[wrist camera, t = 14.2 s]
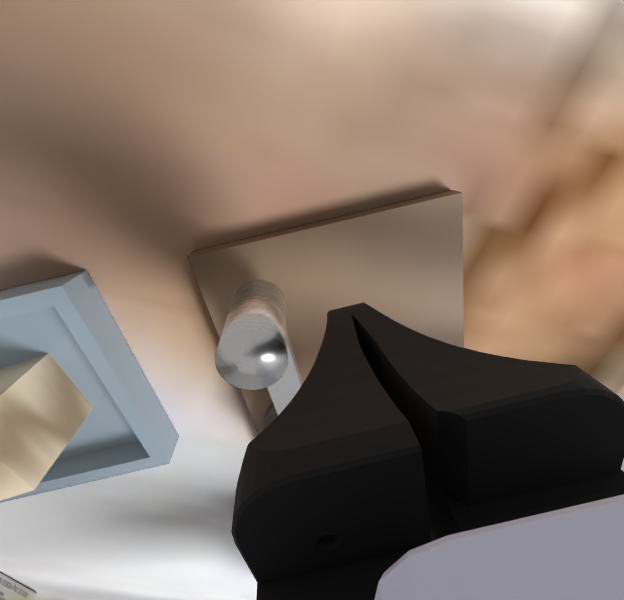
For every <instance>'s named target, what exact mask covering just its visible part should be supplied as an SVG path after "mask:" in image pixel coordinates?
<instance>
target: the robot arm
mask: <svg viewBox="0 0 624 600" xmlns="http://www.w3.org/2000/svg"><path fill="white" fill-rule="evenodd" d="M623 458H624V401H623V400H622V399H621V398H620V397H619V396H618V395H616V394H615V393H614V392H612V391H611V390H609V389H608V388H607V387H605V386H604V385H603V384H601V383H600V382H598V381H597V380H596V379H594V378H593V377H591V376H590V375H589V374H587V373H586V372H585V371H583V370H582V369H580V368H579V367H577V366H576V365H566V364H557V363H547V362H537V361H527V360H520V359H514V358H508V357H502V356H497V355H492V354H487V353H482V352H478V351H474V350H470V349H466V348H462V347H458V346H455V345H452V344H448V343H445V342H442V341H440V340H437V339H434V338H431V337H428V336H426V335H423V334H421V333H419V332H417V331H414V330H412V329H410V328H408V327H406V326H404V325H402V324H400V323H398V322H396V321H394V320H392V319H391V318H389V317H387V316H385V315H384V314H382V313H380V312H379V311H377V310H376V309H374V308H372V307H371V306H369V305H368V304H366V303H364V302H363V303H359V304H355V305H351V306H346V307H342V308H338V309H334V310H330V311H329V312H328V313H327V325H326V330H325V334H324V338H323V341H322V344H321V347H320V350H319V352H318V355H317V358H316V360H315V362H314V364H313V366H312V368H311V370H310V372H309V374H308V376H307V378H306V379H305V381H304V382H303V384H302V385H301V387H300V389H299V390H298V392H297V393H296V395H295V396H294V397H293V399H292V400H291V401H290V402H289V404H288V405H287V406H286V407H285V409H284V410H283V411H282V412H281V413H280V414H279V415H278V416H277V417H276V418H275V420H274V421H273V422H272V423H270V424H269V425H268V426H267V427H266V428H265V429H264V430H263V431H262V432H261V433H260V434H259V435H258V436H257V437H256V438H255V439H253V440H252V441H251V442H250V443H249V444H248V446H247V449H246V453H245V456H244V459H243V463H242V467H241V471H240V475H239V478H238V483H237V488H236V496H235V505H234V514H233V523H232V535H233V538H234V541H235V544H236V546H237V548H238V549H239V551H240V553H241V555H242V556H243V558H244V560H245V562H246V563H247V565H248V567H249V569H250V570H251V572H252V574H253V576H254V577H255V579H256V581H257V600H624V472H623V471H622V470H621V466H622V462H623Z"/></svg>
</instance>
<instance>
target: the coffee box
mask: <svg viewBox="0 0 624 600" xmlns="http://www.w3.org/2000/svg"><path fill="white" fill-rule="evenodd" d="M35 597H36V593H35V592H34V591H32V590H30V589H28V588H26V587H25V586H23V585H21V584H19V583H18V582H16V581H14V580H12V579H11V578H9V577H7V576H5V575H4V574H2V573H0V600H34V599H35Z"/></svg>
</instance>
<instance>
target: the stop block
mask: <svg viewBox="0 0 624 600" xmlns="http://www.w3.org/2000/svg"><path fill="white" fill-rule="evenodd" d="M93 408H94V407H93V406H92V405H91V404H90V402H89V401H88V400H87V399H86V398H85V396H84V395H83V394H82V393H81V392H80V390H79V389H78V388H77V387H76V386H75V384H74V383H73V382H72V381H71V380H70V378H69V377H68V376H67V375H66V373H65V372H64V371H63V370H62V369H61V367H60V366H59V365H58V364H57V363H56V361H55V360H54V359H53V358H52V357H51V355H50V354H49V353H47V354H44V355H41V356H38V357H35V358H32V359H29V360H26V361H23V362H20V363H17V364H14V365H11V366H8V367H5V368H2V369H0V501H1V500H4V499H7V498H10V497H14V496H17V495H20V494H23V493H26V492H30V491H33V490H35V488H36V487H37V486H38V484H39V483H40V481H41V480H42V479H43V477H44V476H45V474H46V473H47V472H48V470H49V469H50V467H51V466H52V465H53V463H54V462H55V460H56V459H57V458H58V456H59V455H60V454H61V452H62V451H63V449H64V448H65V447H66V445H67V444H68V442H69V441H70V440H71V438H72V437H73V435H74V434H75V433H76V431H77V430H78V428H79V427H80V426H81V424H82V423H83V422H84V420H85V419H86V417H87V416H88V415H89V413H90V412H91V410H92V409H93Z"/></svg>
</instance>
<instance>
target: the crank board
mask: <svg viewBox="0 0 624 600" xmlns="http://www.w3.org/2000/svg"><path fill="white" fill-rule="evenodd" d="M187 258H188V261H189V263H190V266H191V268H192V271H193V273H194V276H195V278H196V281H197V283H198V286H199V288H200V290H201V293H202V295H203V298H204V300H205V303H206V305H207V308H208V310H209V313H210V315H211V318H212V320H213V323H214V325H215V328H216V330H217V333H218V335H219V338H221V335H222V332H223V328H224V325H225V322H226V319H227V316H228V312H229V309H230V306H231V303H232V300H233V296H234V294H235V292H236V290H237V289H238V288H239V287H240V286H241V285H242V284H244V283H246V282H248V281H251V280H266V281H269V282H271V283H273V284H275V285H276V286H277V287H278V288H279V289H280V290H281V291H282V293H283V294H284V297H285V301H286V321H287V334H288V337H289V340H290V343H291V346H292V349H293V352H294V355H295V359H296V362H297V365H298V368H299V371H300V374H301V377H302V380H303V382H304V381H305V379H306V378H307V376H308V374H309V372H310V370H311V368H312V366H313V364H314V362H315V360H316V358H317V355H318V352H319V350H320V347H321V344H322V341H323V338H324V334H325V330H326V325H327V313H328V312H329V311H330V310H334V309H338V308H342V307H346V306H351V305H355V304H359V303H363V302H364V303H366V304H368V305H369V306H371V307H372V308H374V309H376V310H377V311H379V312H380V313H382V314H384V315H385V316H387V317H389V318H391V319H392V320H394V321H396V322H398V323H400V324H402V325H404V326H406V327H408V328H410V329H412V330H414V331H417V332H419V333H421V334H423V335H426V336H428V337H431V338H434V339H437V340H440V341H442V342H445V343H448V344H452V345H455V346H458V347H462V348H464V323H463V222H462V192H458V191H454V190H450V191H446V192H441V193H437V194H433V195H429V196H424V197H420V198H416V199H412V200H408V201H403V202H399V203H395V204H391V205H386V206H382V207H378V208H374V209H370V210H365V211H361V212H357V213H353V214H348V215H344V216H340V217H336V218H332V219H327V220H323V221H319V222H315V223H310V224H306V225H302V226H298V227H294V228H289V229H285V230H281V231H277V232H272V233H268V234H264V235H260V236H256V237H251V238H247V239H243V240H239V241H234V242H230V243H226V244H222V245H218V246H213V247H209V248H205V249H201V250H196V251H192V253H191V254H190V255H189V256H188V257H187ZM240 390H241V392H242V395H243V397H244V400H245V402H246V405H247V407H248V410H249V412H250V415H251V417H252V420H253V422H254V425H255V427H256V430H257V432H258V435H259V434H260V433H261V432H262V431H263V430H264V429H265V428H266V427H267V426H268V425H269V424H270V423H272V422H273V421H274V420H275V418H276V417H277V416H278V414H277V411H276V409H275V406H274V404H273V401H272V399H271V396H270V393H269V391H268V388H267V387H266V388H263V389H257V390H247V389H241V388H240Z"/></svg>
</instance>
